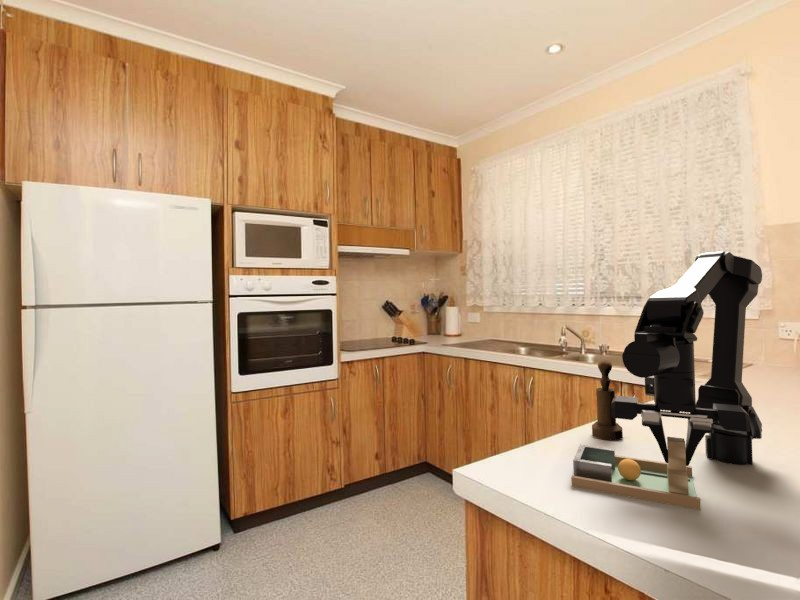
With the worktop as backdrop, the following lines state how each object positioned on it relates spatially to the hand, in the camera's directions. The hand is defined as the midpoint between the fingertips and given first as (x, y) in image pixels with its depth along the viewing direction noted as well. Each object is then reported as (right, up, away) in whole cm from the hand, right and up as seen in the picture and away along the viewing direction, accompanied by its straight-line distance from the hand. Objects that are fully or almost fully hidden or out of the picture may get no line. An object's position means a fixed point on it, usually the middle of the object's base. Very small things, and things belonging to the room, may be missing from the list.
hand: (676, 463), depth 69 cm
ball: (-6, -3, +4) cm, 7 cm away
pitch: (-5, -5, +3) cm, 8 cm away
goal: (-11, -4, +6) cm, 13 cm away
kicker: (0, -4, 0) cm, 4 cm away
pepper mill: (+3, -5, +29) cm, 30 cm away
